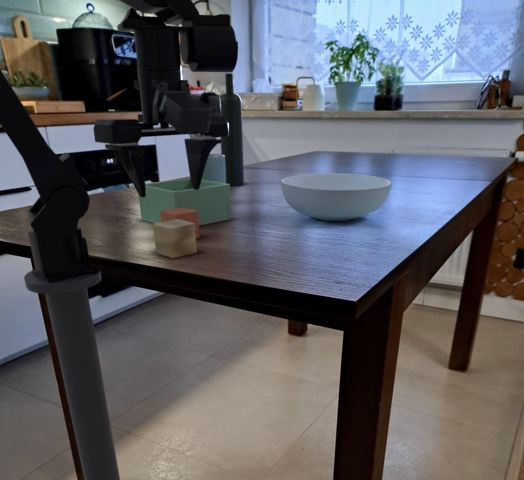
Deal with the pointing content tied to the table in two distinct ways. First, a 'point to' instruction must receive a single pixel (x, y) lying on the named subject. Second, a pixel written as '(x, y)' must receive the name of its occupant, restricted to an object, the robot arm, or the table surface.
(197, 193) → the green storage bin
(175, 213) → the terracotta block
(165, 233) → the beech block
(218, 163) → the cup
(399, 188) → the table surface
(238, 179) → the wine bottle
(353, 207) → the serving bowl
